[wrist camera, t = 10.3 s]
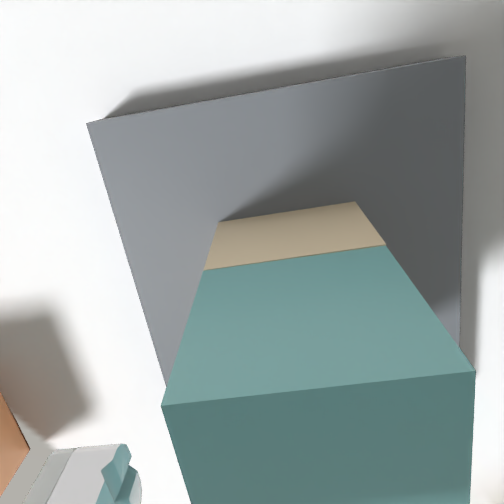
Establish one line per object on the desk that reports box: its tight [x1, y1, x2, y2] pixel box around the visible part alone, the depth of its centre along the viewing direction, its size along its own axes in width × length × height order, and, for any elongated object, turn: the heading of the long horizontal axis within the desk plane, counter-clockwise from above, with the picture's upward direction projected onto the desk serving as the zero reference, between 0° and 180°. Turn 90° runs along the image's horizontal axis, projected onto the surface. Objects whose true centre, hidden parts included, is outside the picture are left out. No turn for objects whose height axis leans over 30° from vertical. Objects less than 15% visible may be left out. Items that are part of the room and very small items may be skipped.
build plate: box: [86, 56, 466, 387], centre depth 15 cm, size 14×12×6 cm
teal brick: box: [161, 246, 476, 504], centre depth 10 cm, size 6×5×5 cm
